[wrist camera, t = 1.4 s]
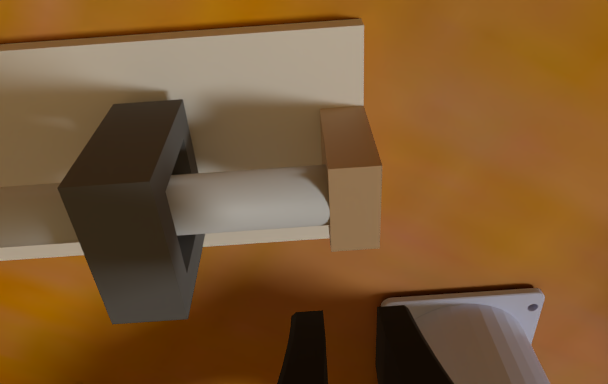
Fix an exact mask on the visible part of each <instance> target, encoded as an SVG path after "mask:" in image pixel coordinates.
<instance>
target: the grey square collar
mask: <svg viewBox="0 0 608 384" xmlns="http://www.w3.org/2000/svg"><path fill="white" fill-rule="evenodd" d="M195 173H198V169H197V164H196V159H195V154H194V150H193V145H192V140H191V135H190V131H189V126H188V121H187V116H186V112H185V107H184V102H183V99H178V100H164V101H150V102H136V103H122V104H113V105H112V107H111V108H110V110H109V111H108V113H107V114H106V116H105V117H104V119H103V120H102V122H101V123H100V125H99V126H98V128H97V129H96V131H95V132H94V134H93V135H92V137H91V138H90V140H89V141H88V143H87V144H86V146H85V147H84V149H83V150H82V152H81V153H80V155H79V156H78V158H77V159H76V161H75V162H74V164H73V165H72V167H71V168H70V170H69V171H68V173H67V174H66V176H65V177H64V179H63V180H62V182H61V183H60V185H59V186H58V188H57V189H58V191H59V194H60V196H61V199H62V201H63V203H64V206H65V208H66V211H67V213H68V216H69V218H70V221H71V223H72V226H73V228H74V231H75V233H76V236H77V238H78V240H79V243H80V245H81V248H82V250H83V253H84V255H85V258H86V260H87V263H88V265H89V268H90V270H91V273H92V275H93V277H94V280H95V282H96V285H97V287H98V290H99V292H100V295H101V297H102V300H103V302H104V305H105V307H106V310H107V312H108V314H109V317H110V319H111V322H112V324H123V323H138V322H152V321H167V320H182V319H188V316H189V312H190V307H191V302H192V297H193V292H194V287H195V282H196V277H197V272H198V267H199V262H200V257H201V252H202V248H203V243H204V238H205V234H193V235H179V236H177V234H176V230H175V226H174V222H173V219H172V215H171V211H170V207H169V203H168V199H167V196H166V189H167V186H168V183H169V180H170V177H171V175H180V174H195Z"/></svg>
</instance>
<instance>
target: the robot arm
mask: <svg viewBox="0 0 608 384" xmlns="http://www.w3.org/2000/svg"><path fill="white" fill-rule="evenodd" d="M544 299H545V296H544V294H543V293H542V291H541V290H540V289H538V288H526V289H511V290H497V291H482V292H467V293H453V294H438V295H423V296H409V297H394V298H387V299H385V300H384V301H383V302H382V303H381V307H377V335H376V370H377V378H378V384H550V382H549V380H548V378H547V376H546V374H545V372H544V370H543V368H542V366H541V364H540V362H539V360H538V358H537V356H536V354H535V352H534V350H533V348H532V346H531V343H532V340H533V336H534V333H535V330H536V326H537V323H538V320H539V316H540V313H541V309H542V306H543V303H544ZM531 304H532V305H531ZM277 384H328V376H327V358H326V340H325V329H324V318H323V311H309V312H296V313H295V314H294V315H292V317H291V328H290V334H289V340H288V345H287V350H286V354H285V358H284V362H283V366H282V369H281V373H280V376H279V379H278V383H277Z"/></svg>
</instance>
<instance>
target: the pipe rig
mask: <svg viewBox="0 0 608 384" xmlns="http://www.w3.org/2000/svg"><path fill="white" fill-rule="evenodd" d="M178 99H183V102H184V107H185V112H186V116H187V121H188V126H189V131H190V135H191V140H192V145H193V150H194V154H195V159H196V164H197V169H198V173H195V174H180V175H171V177H170V180H169V183H168V186H167V189H166V196H167V199H168V203H169V207H170V211H171V215H172V219H173V222H174V226H175V230H176V234H177V236H179V235H193V234H205V238H204V243H203V247H207V246H222V245H237V244H251V243H266V242H280V241H295V240H309V239H324V238H330V245H331V252H332V251H347V250H362V249H376V248H380V221H381V189H382V163H381V160H380V157H379V154H378V151H377V147H376V144H375V141H374V138H373V135H372V131H371V128H370V125H369V122H368V119H367V115H366V112H365V109H364V106H363V103H364V24H363V22H362V20H361V19H347V20H333V21H319V22H305V23H291V24H277V25H263V26H249V27H235V28H221V29H207V30H193V31H179V32H165V33H151V34H137V35H123V36H109V37H95V38H81V39H67V40H53V41H39V42H25V43H11V44H0V261H4V260H18V259H33V258H47V257H62V256H77V255H84V253H83V250H82V248H81V245H80V243H79V240H78V238H77V236H76V233H75V231H74V228H73V226H72V223H71V221H70V218H69V216H68V213H67V211H66V208H65V206H64V203H63V201H62V199H61V196H60V194H59V191H58V189H57V188H58V186H59V185H60V183H61V182H62V180H63V179H64V177H65V176H66V174H67V173H68V171H69V170H70V168H71V167H72V165H73V164H74V162H75V161H76V159H77V158H78V156H79V155H80V153H81V152H82V150H83V149H84V147H85V146H86V144H87V143H88V141H89V140H90V138H91V137H92V135H93V134H94V132H95V131H96V129H97V128H98V126H99V125H100V123H101V122H102V120H103V119H104V117H105V116H106V114H107V113H108V111H109V110H110V108H111V107H112V105H113V104H122V103H136V102H150V101H164V100H178Z"/></svg>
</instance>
